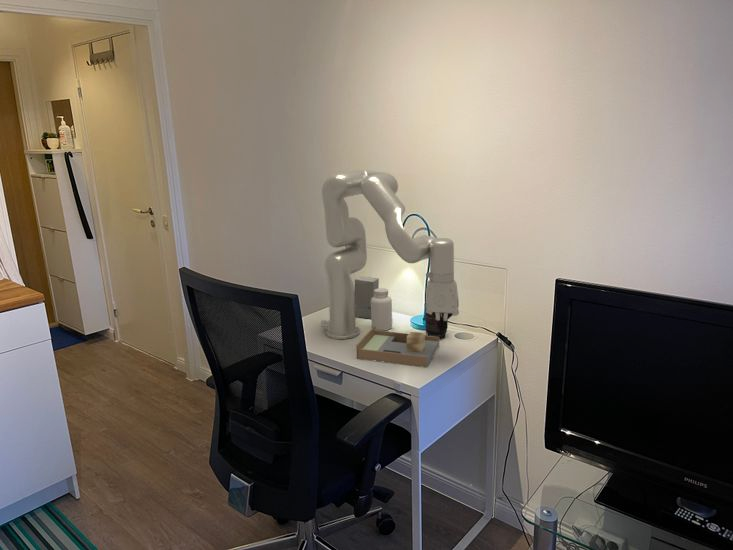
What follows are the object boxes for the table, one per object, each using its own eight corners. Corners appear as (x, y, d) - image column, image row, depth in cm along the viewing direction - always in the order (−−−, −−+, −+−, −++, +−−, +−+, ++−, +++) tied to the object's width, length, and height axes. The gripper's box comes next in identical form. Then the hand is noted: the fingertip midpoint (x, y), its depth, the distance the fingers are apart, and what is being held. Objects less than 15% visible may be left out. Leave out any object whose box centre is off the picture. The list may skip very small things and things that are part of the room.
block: (406, 350, 189) (406, 336, 187) (410, 345, 193) (410, 331, 192) (421, 352, 187) (421, 338, 186) (424, 346, 191) (424, 333, 190)
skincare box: (353, 317, 228) (352, 279, 223) (360, 311, 234) (359, 275, 230) (373, 319, 224) (372, 281, 220) (379, 314, 231) (379, 276, 226)
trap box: (356, 358, 188) (356, 344, 187) (374, 339, 205) (373, 326, 203) (426, 367, 180) (426, 352, 179) (439, 346, 197) (439, 332, 195)
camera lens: (446, 340, 201) (447, 301, 197) (424, 339, 203) (424, 300, 199) (448, 332, 209) (448, 294, 205) (426, 331, 210) (426, 293, 206)
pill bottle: (382, 322, 221) (381, 285, 217) (396, 327, 215) (396, 289, 211) (367, 327, 216) (366, 290, 212) (381, 332, 210) (380, 294, 206)
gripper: (416, 279, 179) (417, 333, 184) (463, 281, 174) (463, 337, 179) (422, 273, 186) (423, 325, 191) (467, 275, 181) (467, 328, 186)
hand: (442, 330), depth 185 cm, fingers closed
